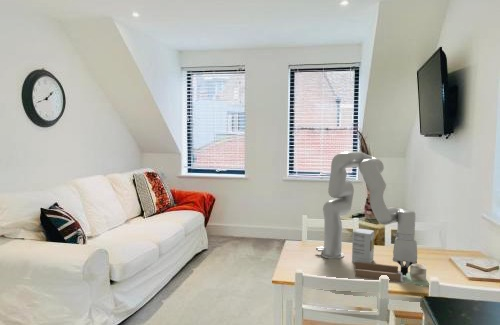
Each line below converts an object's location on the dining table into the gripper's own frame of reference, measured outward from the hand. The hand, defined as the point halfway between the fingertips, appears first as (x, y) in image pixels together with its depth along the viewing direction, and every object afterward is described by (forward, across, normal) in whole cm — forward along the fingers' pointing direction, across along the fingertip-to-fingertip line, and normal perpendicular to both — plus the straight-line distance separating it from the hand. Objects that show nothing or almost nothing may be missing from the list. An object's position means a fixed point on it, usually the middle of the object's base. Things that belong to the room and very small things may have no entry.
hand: (404, 274), depth 168 cm
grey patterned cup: (+1, +6, -1) cm, 6 cm away
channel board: (+2, -6, 0) cm, 6 cm away
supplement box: (+2, -18, +17) cm, 25 cm away
